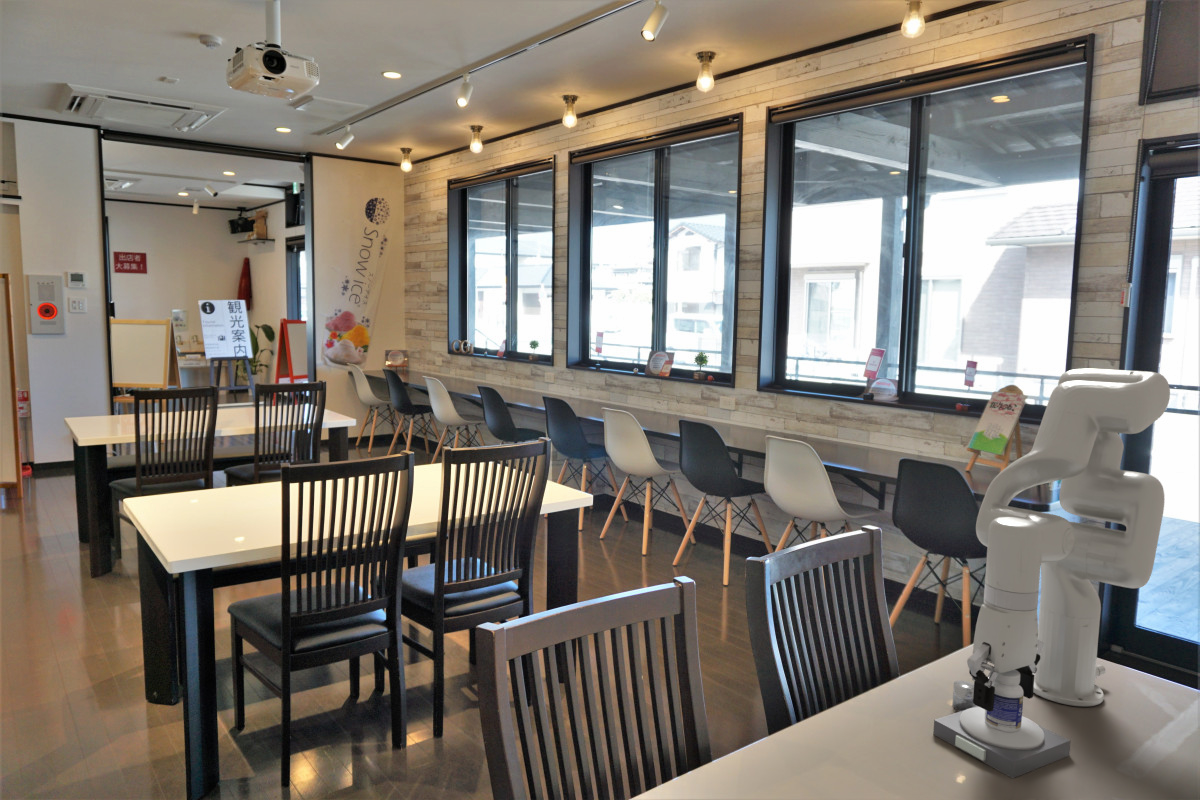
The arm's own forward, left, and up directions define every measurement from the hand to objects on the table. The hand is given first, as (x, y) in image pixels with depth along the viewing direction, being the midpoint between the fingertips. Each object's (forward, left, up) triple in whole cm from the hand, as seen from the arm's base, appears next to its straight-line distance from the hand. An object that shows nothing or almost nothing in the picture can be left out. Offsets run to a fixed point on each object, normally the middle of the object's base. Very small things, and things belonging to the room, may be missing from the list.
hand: (1003, 701), depth 127 cm
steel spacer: (-6, -11, -7) cm, 15 cm away
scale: (0, 0, -7) cm, 7 cm away
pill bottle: (0, 0, -4) cm, 4 cm away
